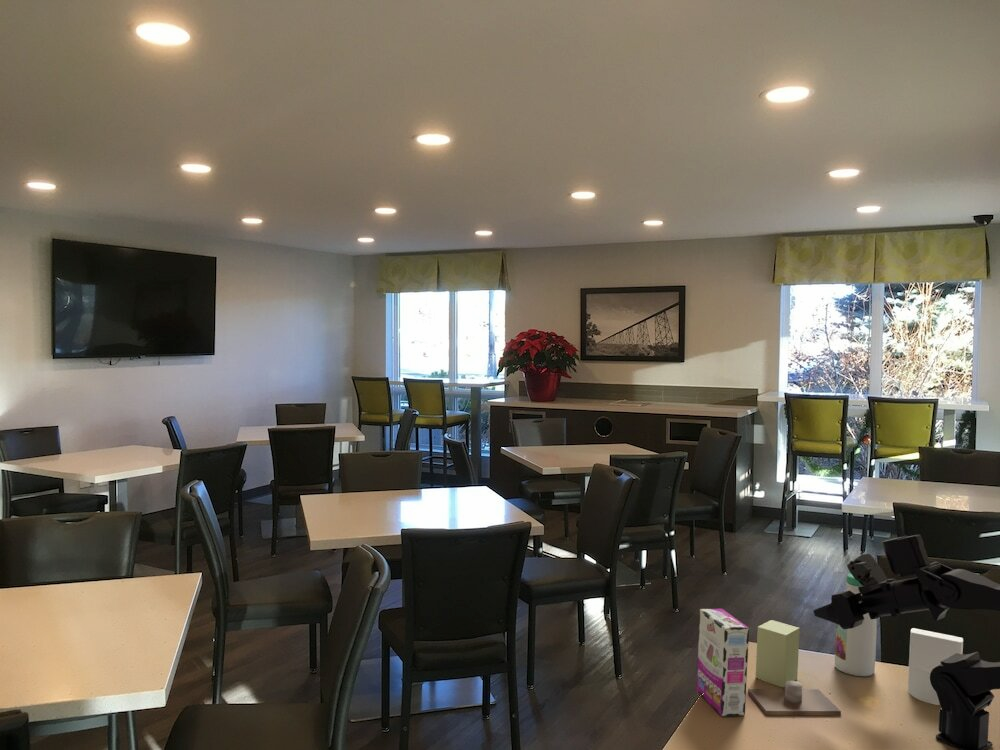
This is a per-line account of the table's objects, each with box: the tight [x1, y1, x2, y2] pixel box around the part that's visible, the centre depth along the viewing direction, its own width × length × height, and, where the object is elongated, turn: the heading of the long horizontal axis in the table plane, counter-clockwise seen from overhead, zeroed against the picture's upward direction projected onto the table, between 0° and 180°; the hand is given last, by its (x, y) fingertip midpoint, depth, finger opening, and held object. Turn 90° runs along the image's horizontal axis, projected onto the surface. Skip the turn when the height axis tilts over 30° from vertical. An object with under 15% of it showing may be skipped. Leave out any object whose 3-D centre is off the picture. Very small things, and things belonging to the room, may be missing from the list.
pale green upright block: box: [755, 619, 801, 689], centre depth 158 cm, size 6×6×11 cm
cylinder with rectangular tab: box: [907, 627, 964, 706], centre depth 152 cm, size 9×9×12 cm
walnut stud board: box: [747, 680, 842, 716], centre depth 147 cm, size 14×9×4 cm, turn 93°
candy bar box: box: [696, 608, 750, 718], centre depth 146 cm, size 11×5×16 cm, turn 10°
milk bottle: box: [834, 573, 878, 677], centre depth 163 cm, size 8×8×20 cm
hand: (826, 608), depth 153 cm, fingers open, 9 cm apart
